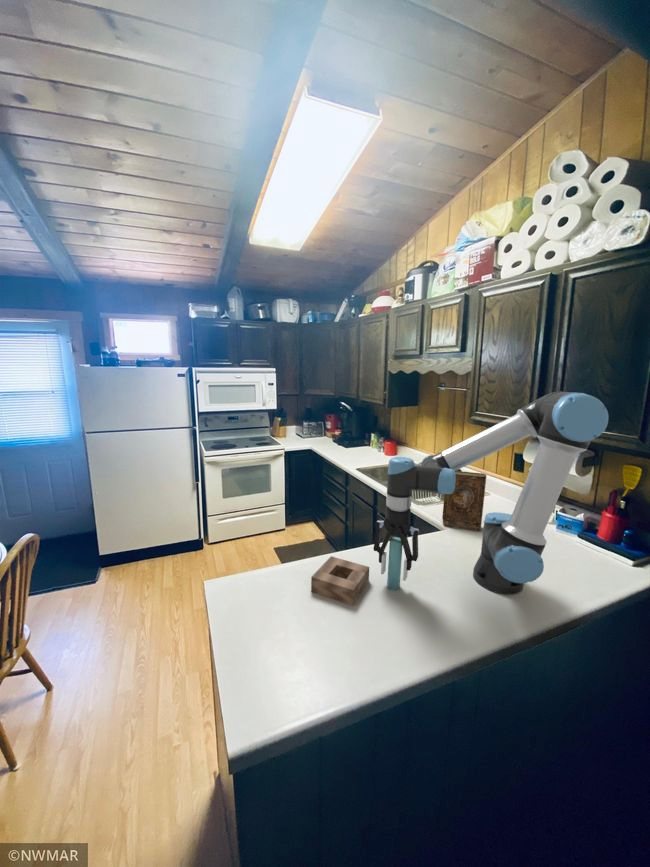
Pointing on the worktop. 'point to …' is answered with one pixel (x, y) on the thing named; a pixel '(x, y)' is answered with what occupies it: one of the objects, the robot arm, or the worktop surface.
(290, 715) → the worktop surface
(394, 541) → the peg
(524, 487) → the robot arm
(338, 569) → the socket block
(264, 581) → the worktop surface
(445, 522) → the book
